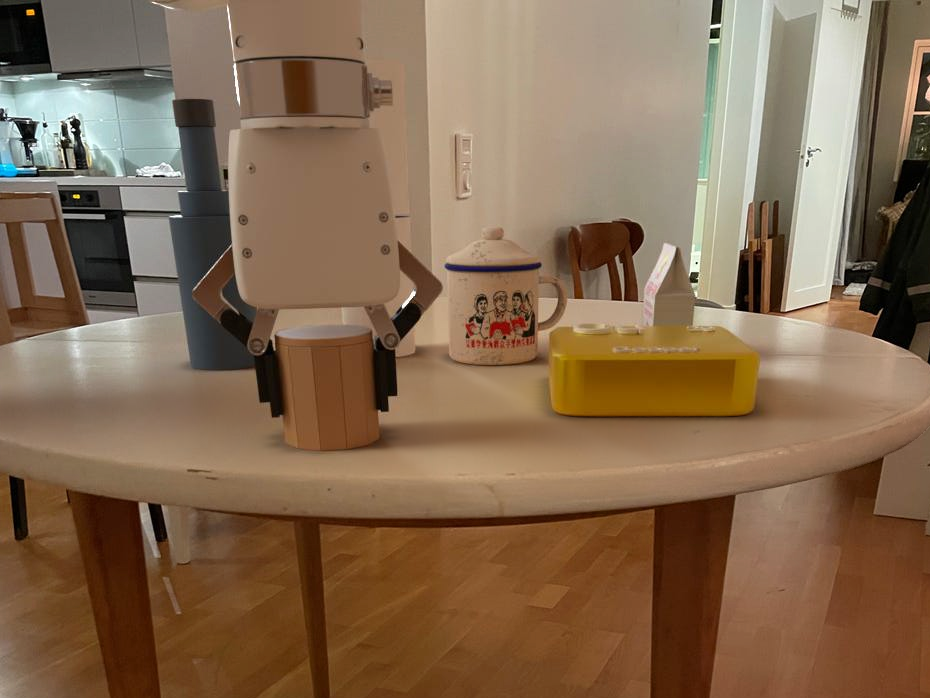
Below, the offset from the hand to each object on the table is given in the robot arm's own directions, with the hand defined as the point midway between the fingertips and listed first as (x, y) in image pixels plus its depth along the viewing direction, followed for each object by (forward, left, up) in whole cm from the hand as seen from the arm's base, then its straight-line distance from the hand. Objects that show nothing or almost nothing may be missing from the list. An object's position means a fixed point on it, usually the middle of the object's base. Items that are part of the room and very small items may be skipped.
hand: (329, 408), depth 62 cm
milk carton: (+33, +25, -2) cm, 41 cm away
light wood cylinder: (0, 0, -2) cm, 2 cm away
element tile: (+25, +8, -2) cm, 26 cm away
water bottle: (-9, +31, -2) cm, 32 cm away
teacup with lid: (+18, +28, -2) cm, 33 cm away
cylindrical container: (+6, +34, -2) cm, 35 cm away
